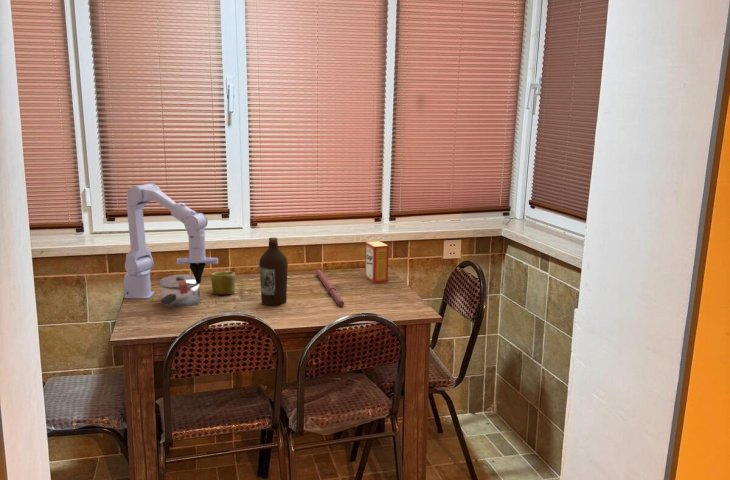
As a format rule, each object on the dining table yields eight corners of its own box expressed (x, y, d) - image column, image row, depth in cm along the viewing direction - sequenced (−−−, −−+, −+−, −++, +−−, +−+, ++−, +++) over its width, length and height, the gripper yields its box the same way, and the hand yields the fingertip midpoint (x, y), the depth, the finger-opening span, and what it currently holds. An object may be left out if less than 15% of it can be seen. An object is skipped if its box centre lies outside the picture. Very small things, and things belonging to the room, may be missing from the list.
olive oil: (271, 296, 252) (270, 233, 246) (293, 300, 247) (293, 237, 241) (254, 303, 243) (252, 239, 237) (276, 308, 238) (275, 242, 232)
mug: (232, 293, 248) (226, 268, 249) (209, 299, 251) (203, 274, 251) (246, 290, 260) (240, 266, 260) (224, 296, 263) (218, 272, 263)
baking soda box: (364, 276, 281) (365, 241, 277) (378, 275, 283) (379, 240, 279) (373, 282, 272) (374, 246, 268) (387, 281, 275) (388, 244, 271)
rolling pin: (345, 307, 241) (345, 299, 240) (337, 308, 240) (337, 300, 239) (321, 275, 283) (321, 268, 283) (314, 275, 282) (314, 268, 282)
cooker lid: (158, 279, 246) (158, 271, 246) (198, 275, 252) (197, 268, 251) (162, 295, 227) (162, 287, 227) (204, 291, 233) (204, 283, 232)
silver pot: (172, 294, 252) (171, 277, 250) (206, 296, 250) (205, 279, 248) (147, 311, 233) (146, 292, 231) (184, 313, 230) (183, 295, 229)
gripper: (218, 244, 238) (219, 279, 241) (178, 244, 237) (180, 280, 240) (216, 248, 231) (217, 285, 234) (175, 249, 230) (176, 285, 233)
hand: (198, 282), depth 237 cm, fingers closed
